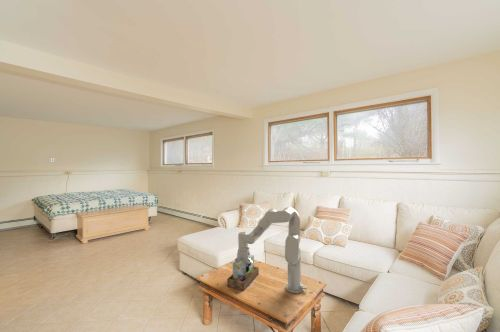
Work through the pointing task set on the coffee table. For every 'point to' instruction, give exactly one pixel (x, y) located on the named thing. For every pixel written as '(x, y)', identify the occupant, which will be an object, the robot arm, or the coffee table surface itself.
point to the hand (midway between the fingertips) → (243, 270)
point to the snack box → (242, 269)
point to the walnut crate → (246, 282)
